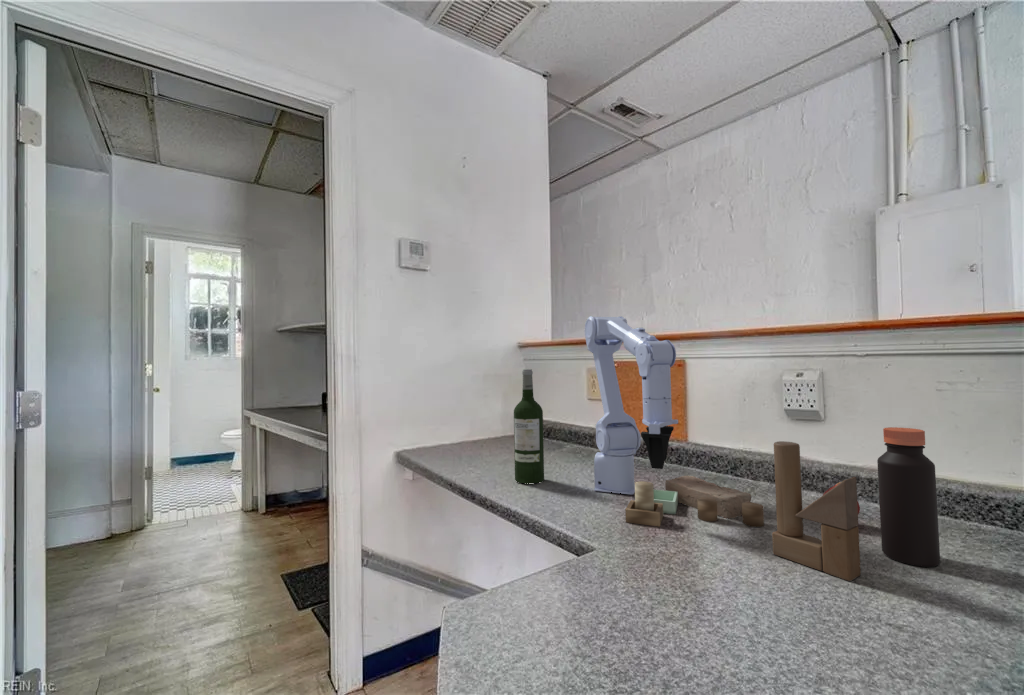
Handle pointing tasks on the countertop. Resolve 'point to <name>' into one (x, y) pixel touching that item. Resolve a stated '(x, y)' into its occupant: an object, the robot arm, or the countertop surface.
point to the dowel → (644, 496)
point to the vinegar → (908, 499)
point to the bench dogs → (750, 512)
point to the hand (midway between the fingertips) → (659, 464)
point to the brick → (708, 495)
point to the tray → (667, 500)
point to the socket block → (644, 514)
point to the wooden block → (815, 519)
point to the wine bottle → (528, 435)
